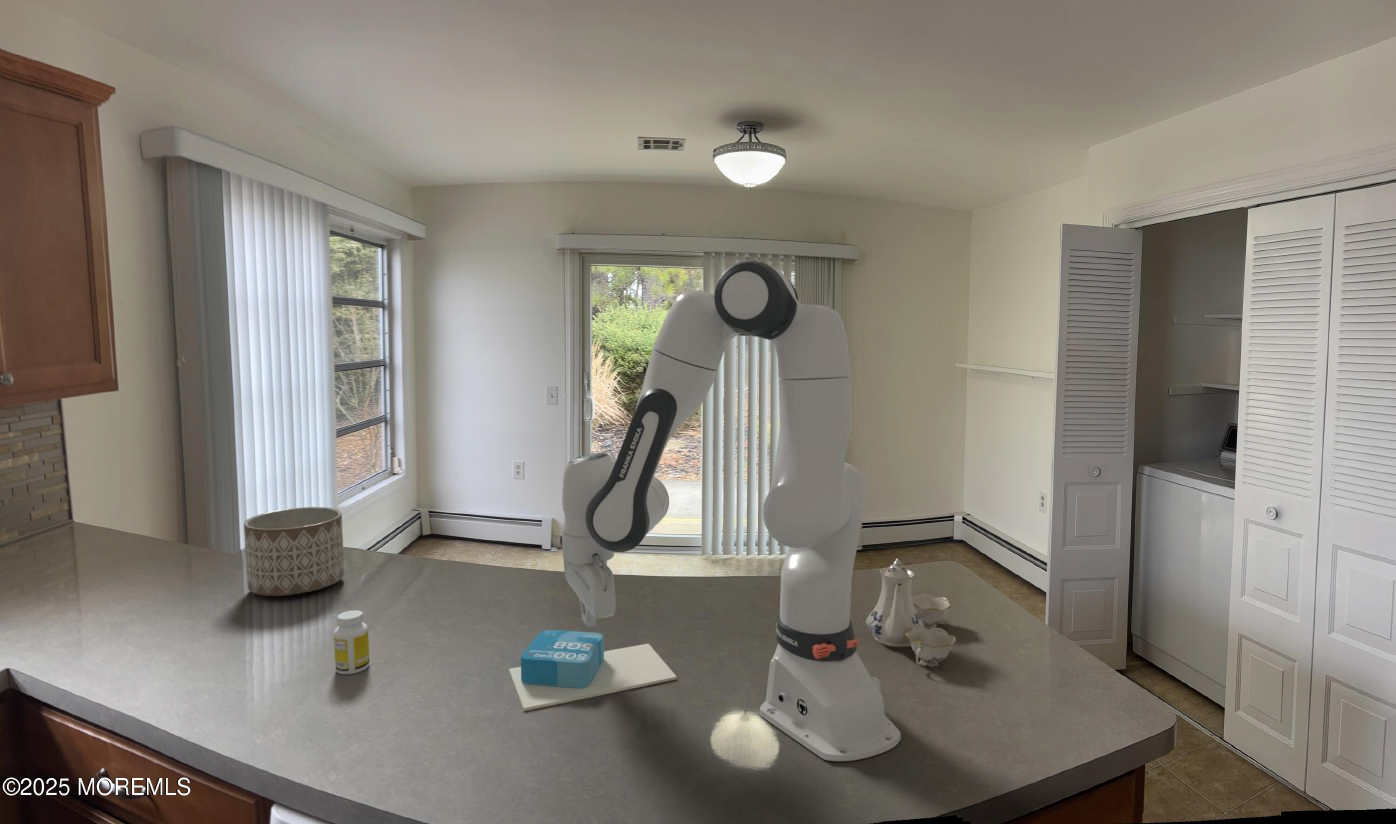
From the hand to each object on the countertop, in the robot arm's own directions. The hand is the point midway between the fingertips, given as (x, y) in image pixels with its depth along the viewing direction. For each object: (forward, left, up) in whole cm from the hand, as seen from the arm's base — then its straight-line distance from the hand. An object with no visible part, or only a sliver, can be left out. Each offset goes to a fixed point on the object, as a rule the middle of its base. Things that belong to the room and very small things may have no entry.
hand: (589, 623), depth 122 cm
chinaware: (-12, -61, -9) cm, 63 cm away
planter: (+65, +51, -9) cm, 83 cm away
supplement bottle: (+17, +38, -9) cm, 43 cm away
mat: (-2, 0, -9) cm, 9 cm away
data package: (+6, +1, -6) cm, 9 cm away
